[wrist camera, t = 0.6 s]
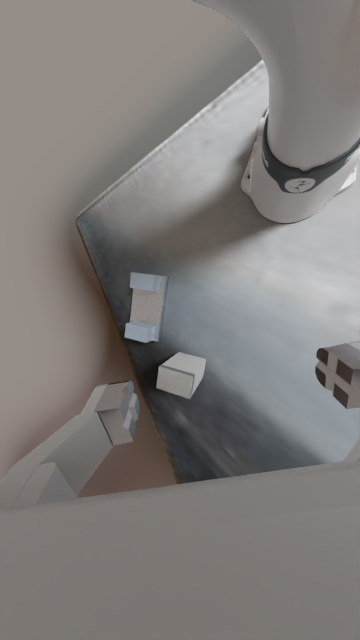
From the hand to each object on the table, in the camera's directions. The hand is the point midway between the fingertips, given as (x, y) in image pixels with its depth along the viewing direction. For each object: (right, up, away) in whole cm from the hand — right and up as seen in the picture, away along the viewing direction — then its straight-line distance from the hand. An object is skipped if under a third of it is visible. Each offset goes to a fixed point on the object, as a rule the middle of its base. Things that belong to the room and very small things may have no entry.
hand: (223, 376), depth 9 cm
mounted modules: (-10, +6, +40) cm, 41 cm away
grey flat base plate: (-10, +6, +41) cm, 43 cm away
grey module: (+1, -8, +39) cm, 40 cm away
